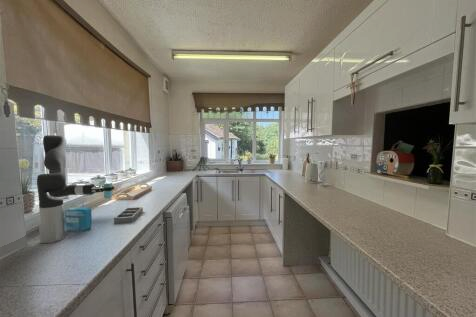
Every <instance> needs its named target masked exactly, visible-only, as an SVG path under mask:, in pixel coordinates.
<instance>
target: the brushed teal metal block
mask: <svg viewBox="0 0 476 317" xmlns="http://www.w3.org/2000/svg"><path fill="white" fill-rule="evenodd" d="M103 186H104V188H112V186H113V182H111V181H110V182H103ZM113 191H114V190H112V191H105V192H103V199H112V198H114V197H113V196H114V195H113V194H114V193H113Z"/></svg>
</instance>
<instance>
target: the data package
mask: <svg viewBox="0 0 476 317" xmlns="http://www.w3.org/2000/svg"><path fill="white" fill-rule="evenodd" d="M92 217H93V216H92V208H91V207H89V206H88V207H87V206H86V207H85V206H84V207H81V206H80V207H77V206H76V207H70V208H68V209H65V210H64V227H65V231H68V232H69V231H74V232H75V231H76V232H79V231H80V232H83V231H87V230H89V229H91V227H93V219H92Z"/></svg>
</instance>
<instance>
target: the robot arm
mask: <svg viewBox="0 0 476 317" xmlns="http://www.w3.org/2000/svg"><path fill="white" fill-rule="evenodd" d="M42 145H43V151H44V157H43V158H44V160H43V165H44V167H45V168H46V169H47V170H48V173H41V174H38V175H37V177H36V188H37V193H38V194H37V195H38V208H39V211H38V212H39V225H38V230H39V244H54V243H56V242H58V241H61V240H64V239H65V237H66V228H65V210H64V199H63V197H66V196H93V195H94V194H96V193H104V192H105V191H114V190H115V186H113V185H112V188H104V185H102V184H101V185H96V186H95V184H94V183H77V184H74V183H73V184H68V185H67V183H66V182H67V181H66V171H65V170H66V148H67V140H66V137H65V136H64V135H52V134H51V135H49V134H48V135H44V136H43V140H42ZM61 197H62V198H61Z"/></svg>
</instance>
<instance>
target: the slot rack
mask: <svg viewBox="0 0 476 317" xmlns="http://www.w3.org/2000/svg"><path fill="white" fill-rule="evenodd" d="M143 208H144V207H143V206H141V207H139V206H137V207H135V206H134V207H126V208H125V209H124V210H122V211H121V212H120V213H119V214H117V215H116V216H114V217H113V224H126V223H127V224H129V223H134V221H135V220H137V219H138V218H139V216H140V215H142V214H143V213H144V212H143V211H144V209H143Z"/></svg>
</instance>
